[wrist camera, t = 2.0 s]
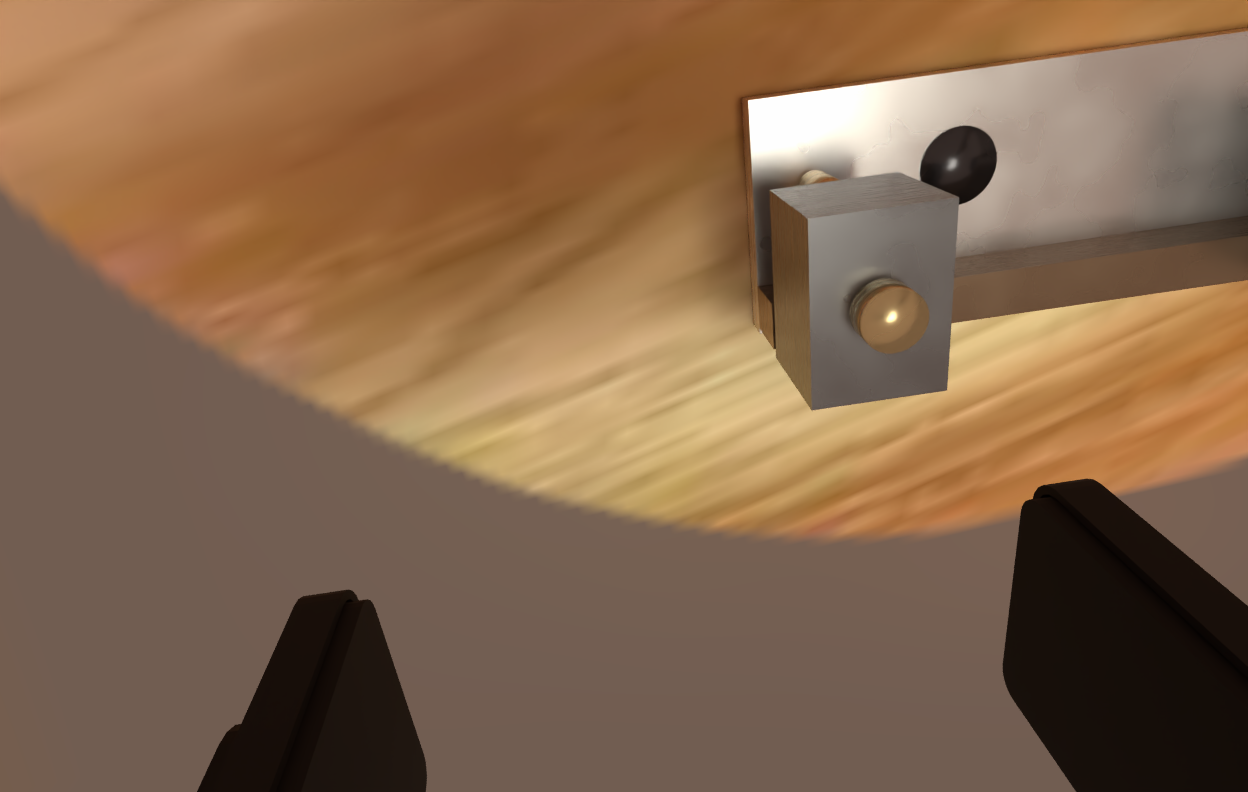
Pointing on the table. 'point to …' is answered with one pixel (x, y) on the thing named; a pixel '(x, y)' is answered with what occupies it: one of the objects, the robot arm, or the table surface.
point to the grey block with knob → (863, 286)
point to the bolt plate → (1037, 168)
